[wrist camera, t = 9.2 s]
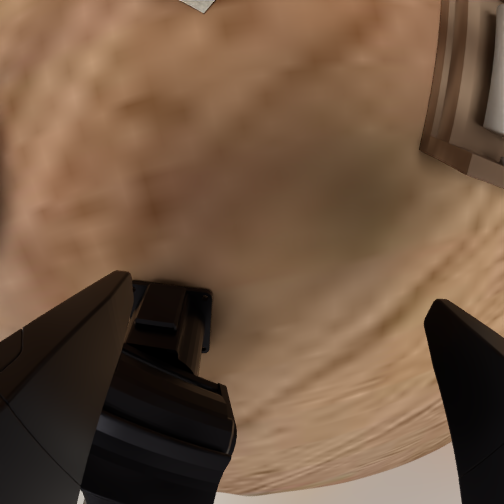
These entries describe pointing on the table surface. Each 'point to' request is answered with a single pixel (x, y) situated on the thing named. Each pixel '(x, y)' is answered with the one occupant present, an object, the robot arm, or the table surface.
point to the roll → (497, 81)
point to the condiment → (199, 4)
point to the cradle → (464, 92)
